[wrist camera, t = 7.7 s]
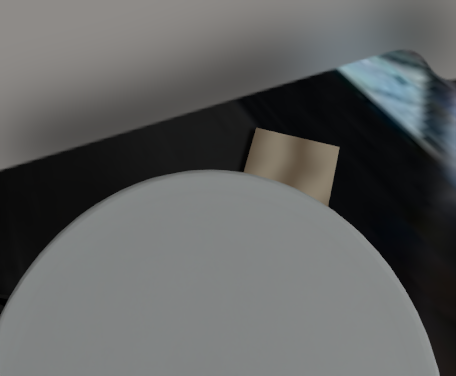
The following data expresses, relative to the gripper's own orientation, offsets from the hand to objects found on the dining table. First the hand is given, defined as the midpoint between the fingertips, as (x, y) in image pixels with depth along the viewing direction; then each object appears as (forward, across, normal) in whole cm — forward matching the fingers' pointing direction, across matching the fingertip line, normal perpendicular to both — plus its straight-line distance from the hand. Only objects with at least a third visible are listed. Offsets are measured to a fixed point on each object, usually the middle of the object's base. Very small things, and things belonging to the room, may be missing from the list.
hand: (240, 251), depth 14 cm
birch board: (+22, +3, -6) cm, 23 cm away
